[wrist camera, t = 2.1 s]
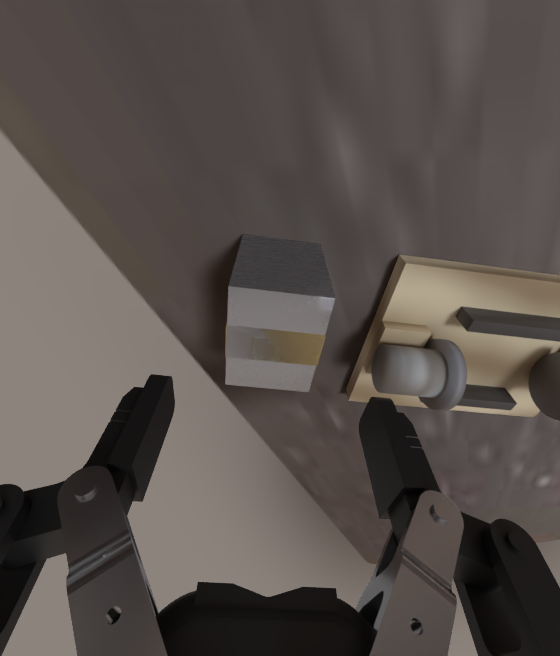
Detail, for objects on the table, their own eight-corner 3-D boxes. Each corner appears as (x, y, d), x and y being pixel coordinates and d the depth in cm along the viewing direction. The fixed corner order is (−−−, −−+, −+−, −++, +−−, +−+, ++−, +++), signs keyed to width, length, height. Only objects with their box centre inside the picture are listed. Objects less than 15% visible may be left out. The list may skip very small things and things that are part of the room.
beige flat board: (399, 254, 18) (439, 307, 13) (642, 285, 19) (755, 344, 14) (346, 389, 25) (360, 453, 20) (524, 405, 26) (575, 469, 22)
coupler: (242, 233, 17) (227, 286, 12) (321, 243, 17) (336, 298, 13) (237, 318, 21) (224, 384, 16) (303, 325, 21) (309, 392, 16)
